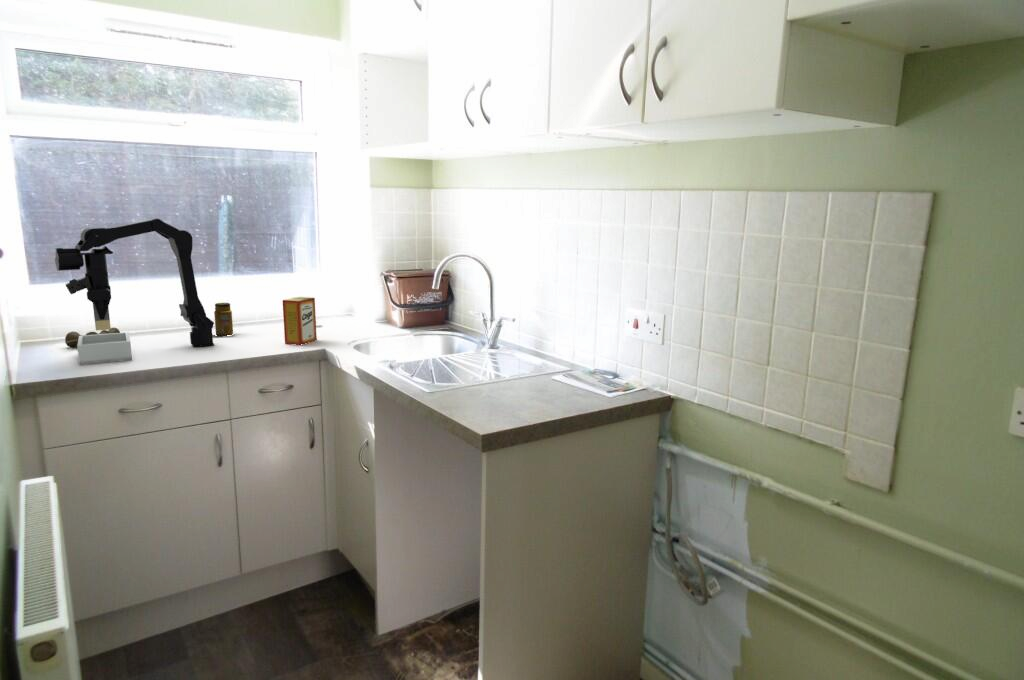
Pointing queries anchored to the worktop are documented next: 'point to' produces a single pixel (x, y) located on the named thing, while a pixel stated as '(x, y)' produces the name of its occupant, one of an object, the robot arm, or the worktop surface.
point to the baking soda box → (299, 320)
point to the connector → (99, 323)
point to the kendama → (73, 337)
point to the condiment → (223, 319)
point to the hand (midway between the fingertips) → (102, 318)
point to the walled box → (104, 348)
